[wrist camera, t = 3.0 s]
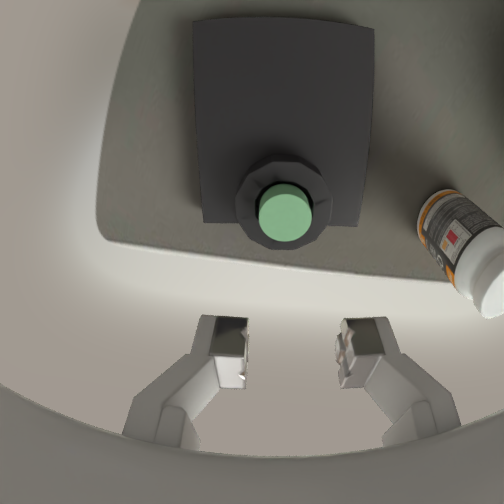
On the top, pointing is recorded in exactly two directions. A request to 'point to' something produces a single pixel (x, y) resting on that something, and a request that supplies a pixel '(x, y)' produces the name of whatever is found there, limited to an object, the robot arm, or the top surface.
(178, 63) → the top surface
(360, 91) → the grey push button base
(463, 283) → the pill bottle
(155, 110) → the top surface
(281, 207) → the button
